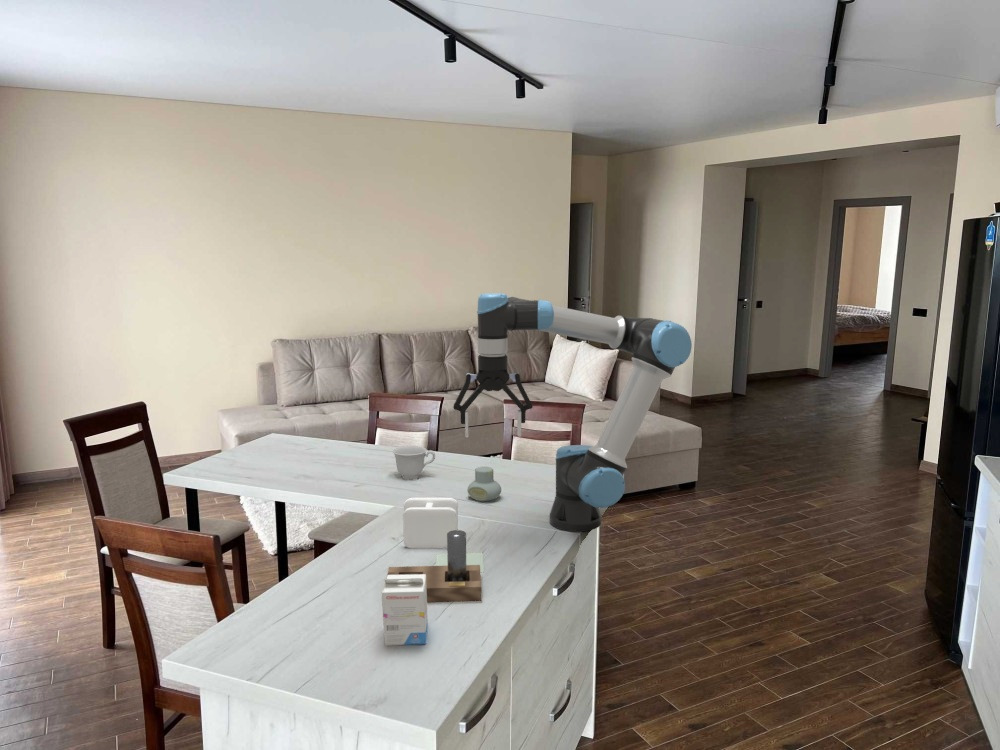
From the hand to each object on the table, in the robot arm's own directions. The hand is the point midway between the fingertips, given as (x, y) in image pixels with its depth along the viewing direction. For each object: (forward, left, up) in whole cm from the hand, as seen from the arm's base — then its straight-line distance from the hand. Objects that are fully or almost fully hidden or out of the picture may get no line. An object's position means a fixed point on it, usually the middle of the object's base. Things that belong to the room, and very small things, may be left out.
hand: (493, 435), depth 190 cm
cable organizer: (+17, -7, -32) cm, 37 cm away
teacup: (+25, -67, -32) cm, 78 cm away
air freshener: (+1, -43, -32) cm, 54 cm away
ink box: (+20, +42, -32) cm, 56 cm away
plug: (+10, +22, -32) cm, 40 cm away
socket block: (+15, +22, -32) cm, 41 cm away
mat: (+9, +8, -32) cm, 34 cm away
